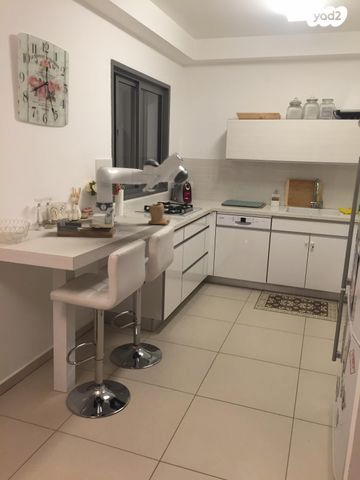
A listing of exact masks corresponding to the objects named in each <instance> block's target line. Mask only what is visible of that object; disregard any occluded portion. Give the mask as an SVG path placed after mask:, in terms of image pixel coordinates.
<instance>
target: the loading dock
mask: <svg viewBox="0 0 360 480" xmlns="http://www.w3.org/2000/svg"><path fill="white" fill-rule="evenodd" d="M56 228H57V230H56V235H57V237H73V238H74V237H75V238H76V237H77V238H80V237H81V238H106V239H107V238H109V239H110V238H112V239H113V237H114V235H116V228H115V227H113V228H111V230H108V228H100V227H94V229H93V230H92V229H91V227H90V226H83V222H80V221H78V222H77V221H76V222H75V221H67V219H66V218H61V219H60V220H59V221H57V222H56Z"/></svg>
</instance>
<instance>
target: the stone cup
mask: <svg viewBox="0 0 360 480" xmlns="http://www.w3.org/2000/svg"><path fill="white" fill-rule="evenodd" d="M148 209H149V215H150V218H151V219H150V220H149V221H148V222H147V223H148V224H151V225H165V226H166V225H169V224H170V223H171V219H165V218H164V213H165V205H164V204H163V203H161V202H159V203H151V204H150V205H149V206H148Z"/></svg>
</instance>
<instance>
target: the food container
mask: <svg viewBox="0 0 360 480" xmlns="http://www.w3.org/2000/svg"><path fill="white" fill-rule="evenodd" d="M105 214H106V222H110V214H109V213H105ZM115 215H116V214H115ZM115 215H114V217H115ZM115 218H116V217H115ZM99 228H108V227H99ZM112 228H114V226H113V227H112Z"/></svg>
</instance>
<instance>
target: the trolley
mask: <svg viewBox="0 0 360 480" xmlns="http://www.w3.org/2000/svg"><path fill="white" fill-rule="evenodd" d="M114 210H115V208H113V209H112V210H111V211H110V222H106V214H94V213H93V215H92V219H93V221H91V222H90V224H89V227H91V229H92V230H93V229H94V227H98V228H100V227H108V230H111V228H112V227H113V228H114V225H115V222H114Z"/></svg>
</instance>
